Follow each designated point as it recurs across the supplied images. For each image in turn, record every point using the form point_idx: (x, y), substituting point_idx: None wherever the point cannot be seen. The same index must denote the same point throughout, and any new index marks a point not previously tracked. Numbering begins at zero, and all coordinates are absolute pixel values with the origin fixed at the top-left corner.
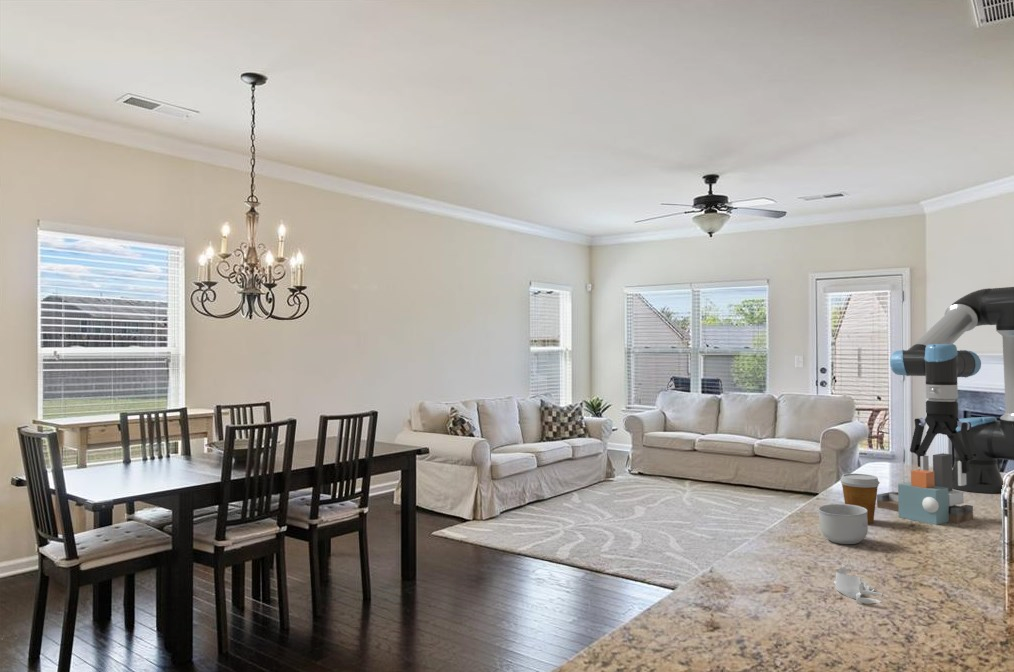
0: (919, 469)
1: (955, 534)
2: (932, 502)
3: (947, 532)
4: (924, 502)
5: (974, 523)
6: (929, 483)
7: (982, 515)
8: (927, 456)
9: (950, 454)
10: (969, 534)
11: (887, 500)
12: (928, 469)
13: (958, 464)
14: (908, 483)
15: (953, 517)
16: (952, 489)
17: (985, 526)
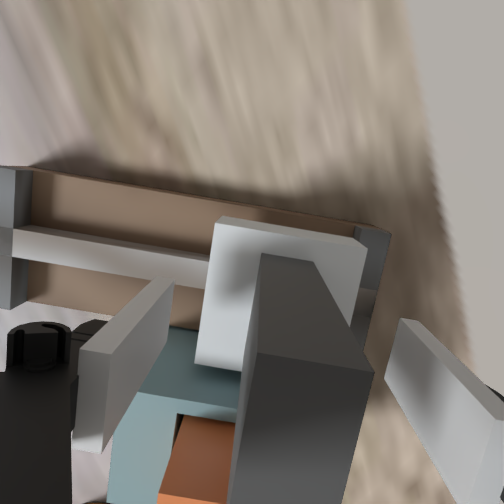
0: (161, 496)
1: (385, 499)
2: None
3: (358, 491)
4: None
5: (394, 296)
6: None
7: (384, 113)
8: (111, 369)
9: (360, 382)
10: (419, 470)
11: (31, 267)
12: (156, 305)
13: (454, 486)
14: (134, 448)
15: None
16: (314, 264)
17: (437, 316)
